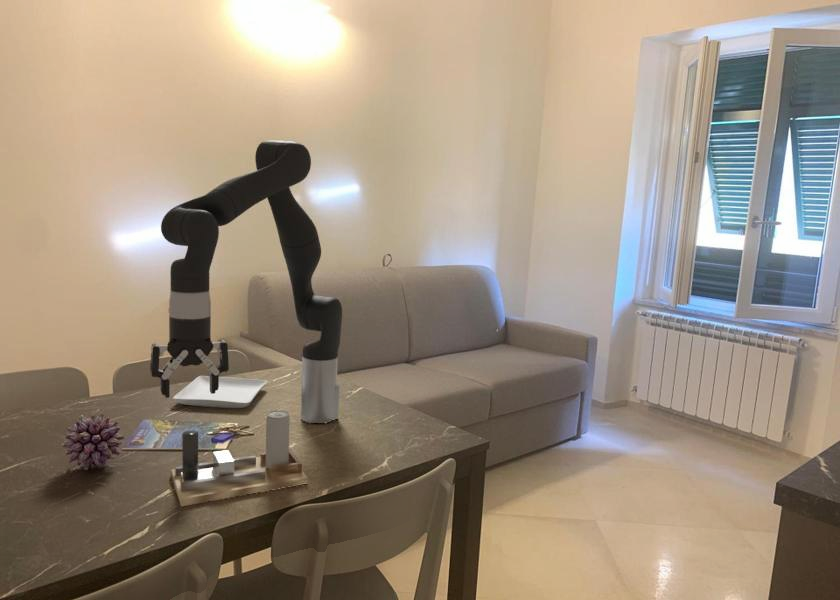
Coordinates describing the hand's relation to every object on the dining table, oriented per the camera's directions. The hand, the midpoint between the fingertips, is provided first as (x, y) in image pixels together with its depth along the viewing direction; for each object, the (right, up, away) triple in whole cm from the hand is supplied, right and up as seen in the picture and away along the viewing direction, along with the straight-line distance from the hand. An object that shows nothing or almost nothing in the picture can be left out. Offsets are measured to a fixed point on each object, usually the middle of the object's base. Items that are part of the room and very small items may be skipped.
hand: (190, 394), depth 125 cm
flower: (-24, -17, +10) cm, 31 cm away
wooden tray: (+7, -19, +8) cm, 22 cm away
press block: (+2, -17, +5) cm, 18 cm away
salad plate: (-12, -10, +58) cm, 60 cm away
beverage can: (+14, -18, +12) cm, 26 cm away
